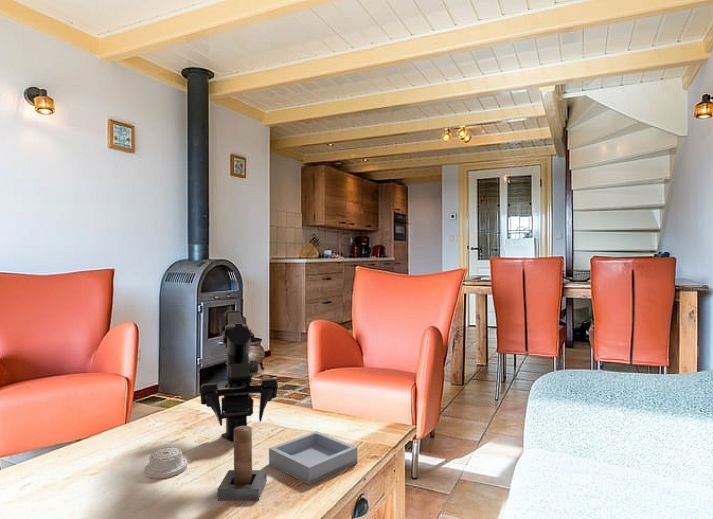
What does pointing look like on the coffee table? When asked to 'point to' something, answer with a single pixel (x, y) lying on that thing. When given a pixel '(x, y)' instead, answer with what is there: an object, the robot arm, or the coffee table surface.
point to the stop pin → (243, 455)
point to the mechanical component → (165, 463)
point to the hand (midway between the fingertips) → (241, 422)
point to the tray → (312, 456)
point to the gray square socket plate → (242, 487)
